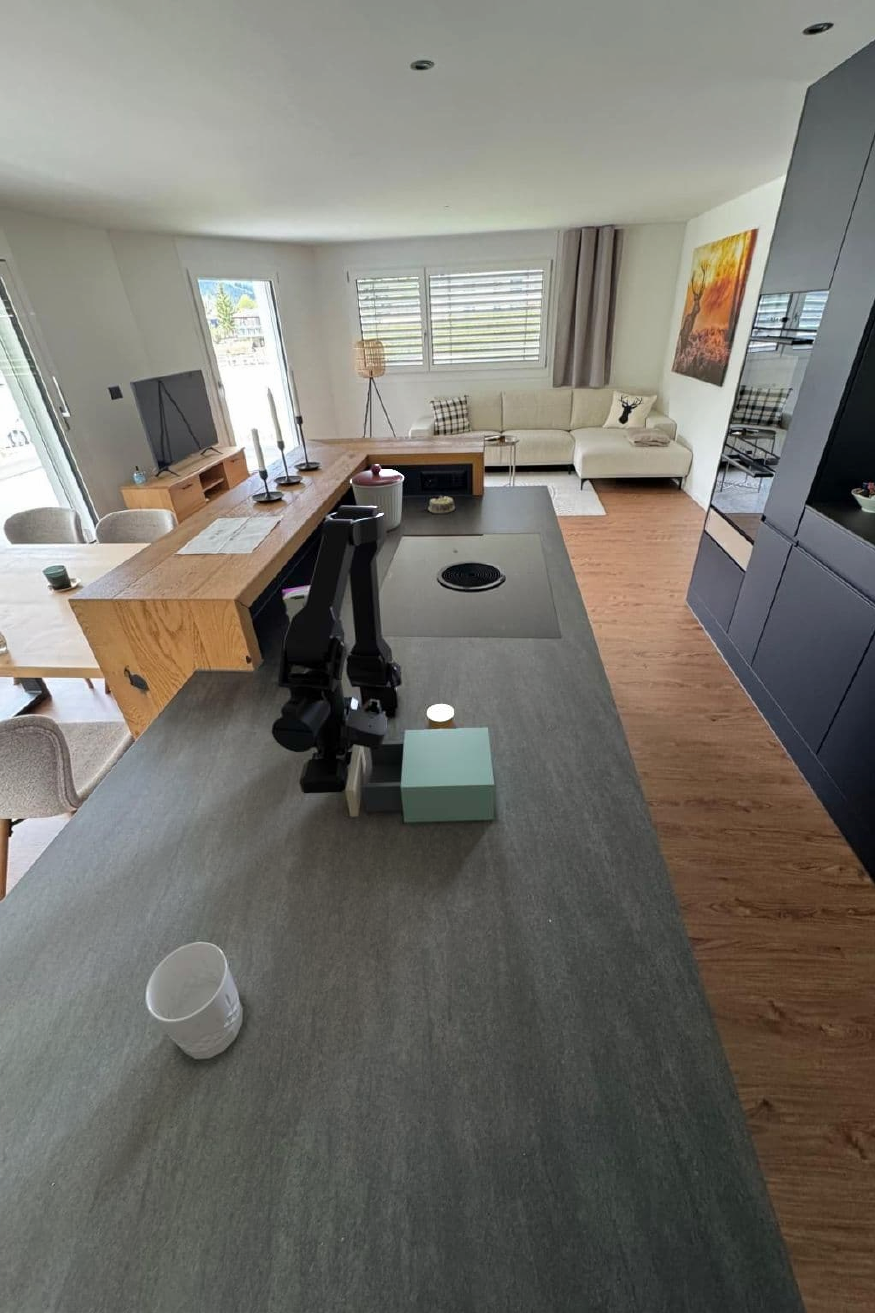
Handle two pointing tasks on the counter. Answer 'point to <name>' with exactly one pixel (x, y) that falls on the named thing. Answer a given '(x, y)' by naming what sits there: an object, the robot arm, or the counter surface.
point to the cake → (441, 505)
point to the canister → (380, 492)
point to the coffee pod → (440, 717)
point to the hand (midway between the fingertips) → (339, 781)
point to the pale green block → (447, 775)
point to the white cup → (196, 999)
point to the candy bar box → (296, 601)
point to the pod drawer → (376, 778)
